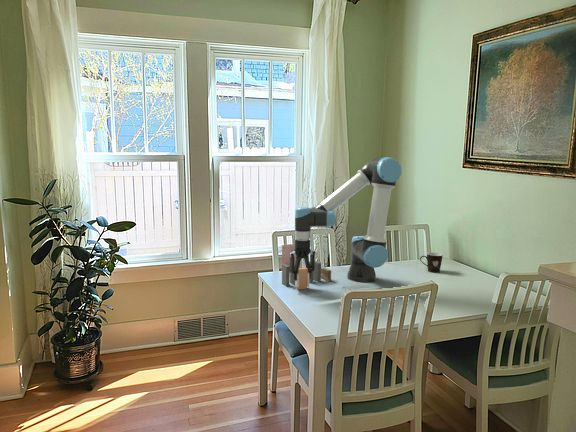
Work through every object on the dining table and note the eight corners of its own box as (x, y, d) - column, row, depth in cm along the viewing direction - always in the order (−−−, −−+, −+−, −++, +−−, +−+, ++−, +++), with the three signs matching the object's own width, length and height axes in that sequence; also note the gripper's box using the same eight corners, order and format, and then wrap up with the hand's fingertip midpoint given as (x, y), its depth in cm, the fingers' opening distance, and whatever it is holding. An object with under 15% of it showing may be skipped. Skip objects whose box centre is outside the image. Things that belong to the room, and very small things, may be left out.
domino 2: (293, 282, 223) (293, 263, 222) (297, 284, 219) (297, 265, 217) (289, 282, 223) (290, 263, 221) (294, 285, 218) (294, 265, 217)
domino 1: (285, 283, 221) (285, 264, 220) (289, 286, 217) (289, 266, 216) (281, 283, 221) (282, 264, 219) (286, 286, 216) (286, 266, 215)
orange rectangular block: (296, 288, 212) (296, 268, 211) (305, 287, 215) (305, 267, 213) (298, 289, 211) (298, 269, 209) (307, 288, 213) (307, 268, 212)
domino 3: (308, 280, 227) (308, 261, 226) (313, 282, 223) (313, 263, 221) (305, 280, 226) (305, 262, 225) (310, 283, 222) (310, 264, 221)
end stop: (324, 277, 232) (324, 266, 231) (330, 281, 226) (331, 270, 225) (320, 278, 231) (321, 267, 231) (327, 281, 225) (327, 270, 224)
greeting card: (299, 269, 249) (300, 243, 247) (305, 272, 243) (305, 246, 241) (281, 271, 245) (281, 244, 243) (286, 274, 238) (286, 247, 236)
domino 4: (316, 279, 229) (316, 260, 228) (320, 281, 225) (321, 263, 223) (313, 279, 228) (313, 261, 227) (317, 282, 224) (318, 263, 222)
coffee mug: (443, 270, 250) (444, 253, 248) (439, 274, 243) (440, 256, 241) (422, 267, 256) (423, 251, 255) (418, 270, 249) (419, 253, 247)
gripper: (315, 236, 216) (314, 281, 220) (282, 239, 209) (282, 286, 212) (322, 239, 210) (321, 285, 213) (289, 242, 202) (288, 290, 205)
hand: (302, 285), depth 212 cm, fingers closed on orange rectangular block, 5 cm apart
